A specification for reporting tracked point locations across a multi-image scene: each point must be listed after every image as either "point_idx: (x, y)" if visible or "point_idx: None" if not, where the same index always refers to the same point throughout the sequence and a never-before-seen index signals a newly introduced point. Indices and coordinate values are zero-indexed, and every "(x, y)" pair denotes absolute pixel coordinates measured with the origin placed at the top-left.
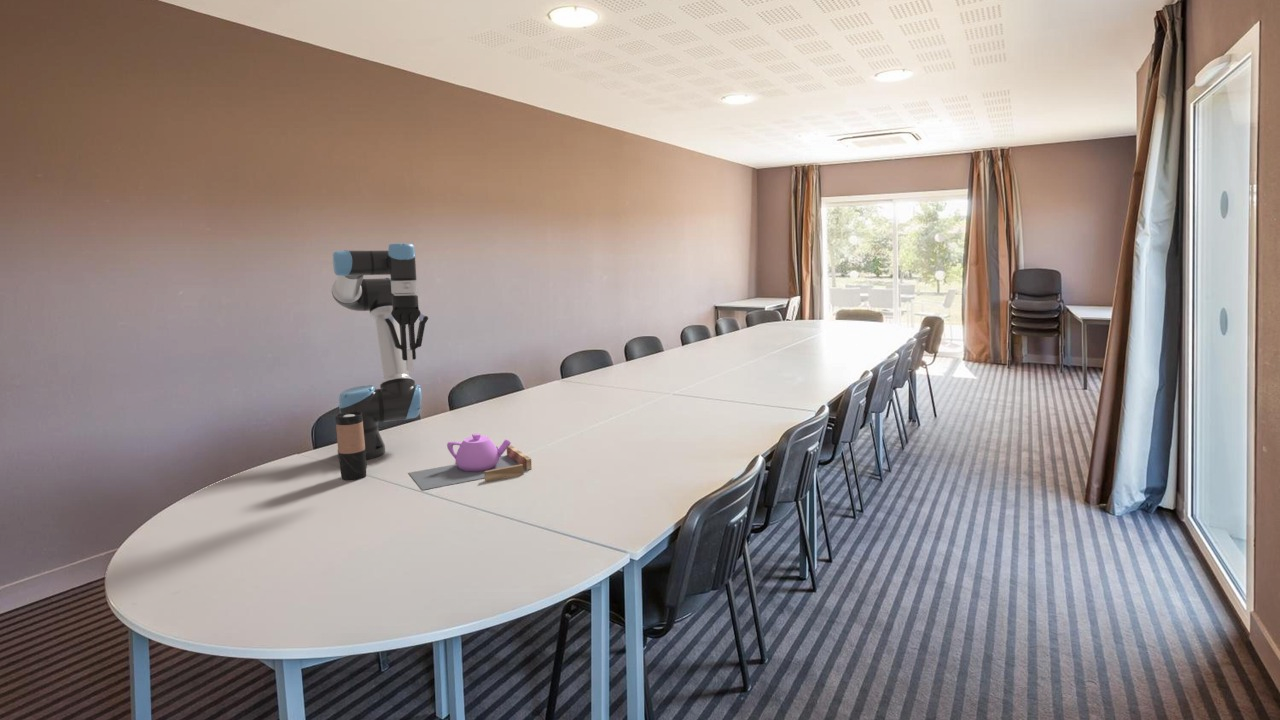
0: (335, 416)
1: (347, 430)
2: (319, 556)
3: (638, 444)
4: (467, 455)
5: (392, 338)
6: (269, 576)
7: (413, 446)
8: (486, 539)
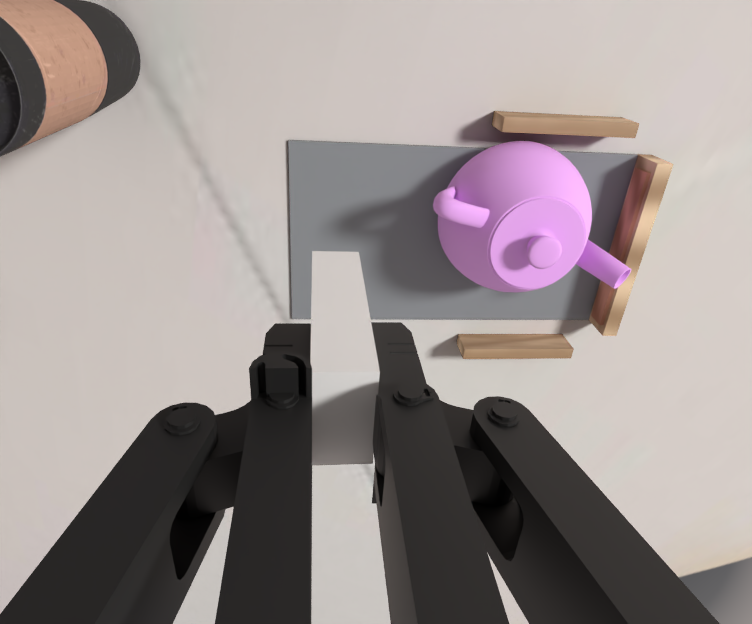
0: None
1: None
2: (53, 524)
3: None
4: (466, 273)
5: (62, 550)
6: None
7: None
8: (331, 571)
